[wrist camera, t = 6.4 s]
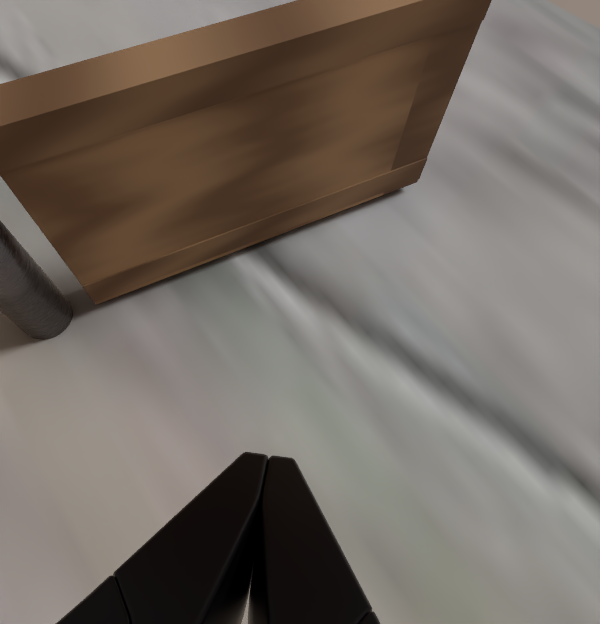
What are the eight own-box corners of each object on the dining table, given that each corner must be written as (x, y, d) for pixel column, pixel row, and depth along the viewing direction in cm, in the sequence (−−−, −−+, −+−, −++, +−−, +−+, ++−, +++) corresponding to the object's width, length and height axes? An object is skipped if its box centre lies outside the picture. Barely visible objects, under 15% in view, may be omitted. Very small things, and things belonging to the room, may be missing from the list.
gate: (96, 305, 21) (-50, 109, 12) (87, 279, 22) (-62, 68, 12) (417, 182, 24) (512, -52, 15) (403, 162, 25) (486, -79, 15)
